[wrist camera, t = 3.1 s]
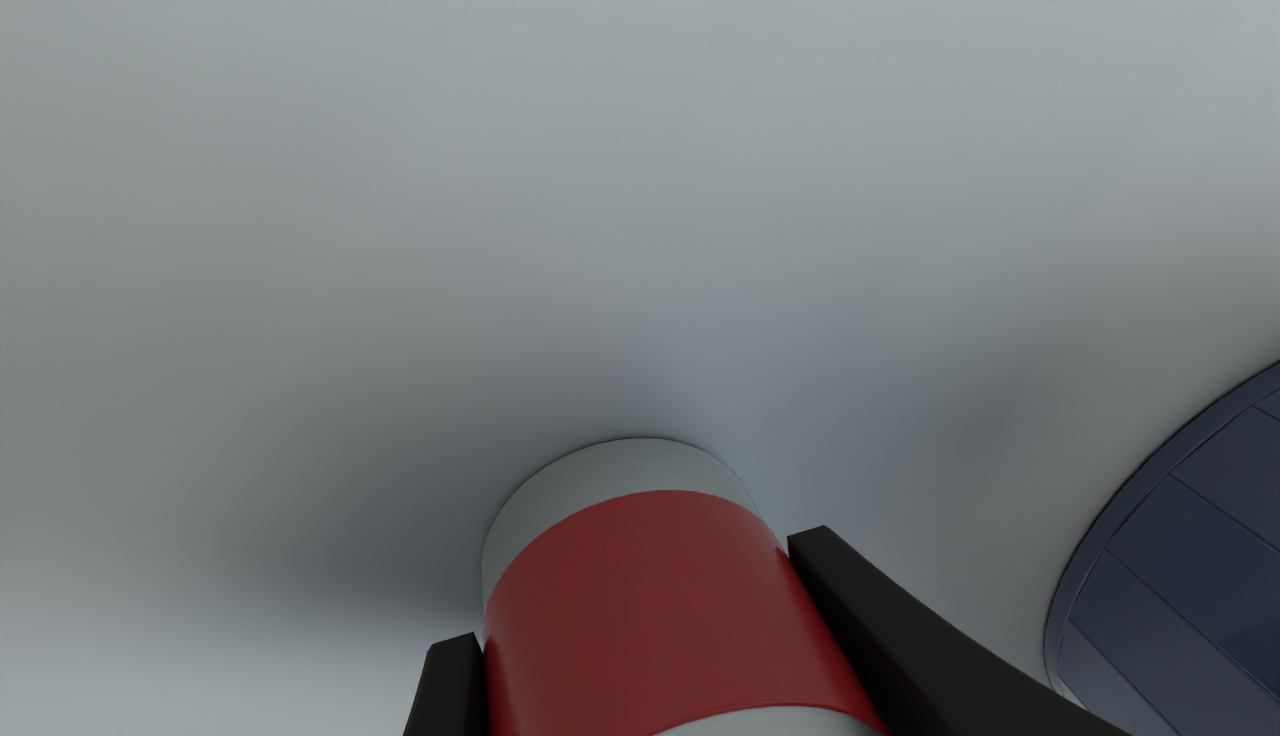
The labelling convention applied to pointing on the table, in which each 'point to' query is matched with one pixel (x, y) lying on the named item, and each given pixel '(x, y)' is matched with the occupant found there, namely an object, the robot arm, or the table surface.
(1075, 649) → the dark blue round bowl
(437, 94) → the table surface
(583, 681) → the can
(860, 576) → the robot arm
